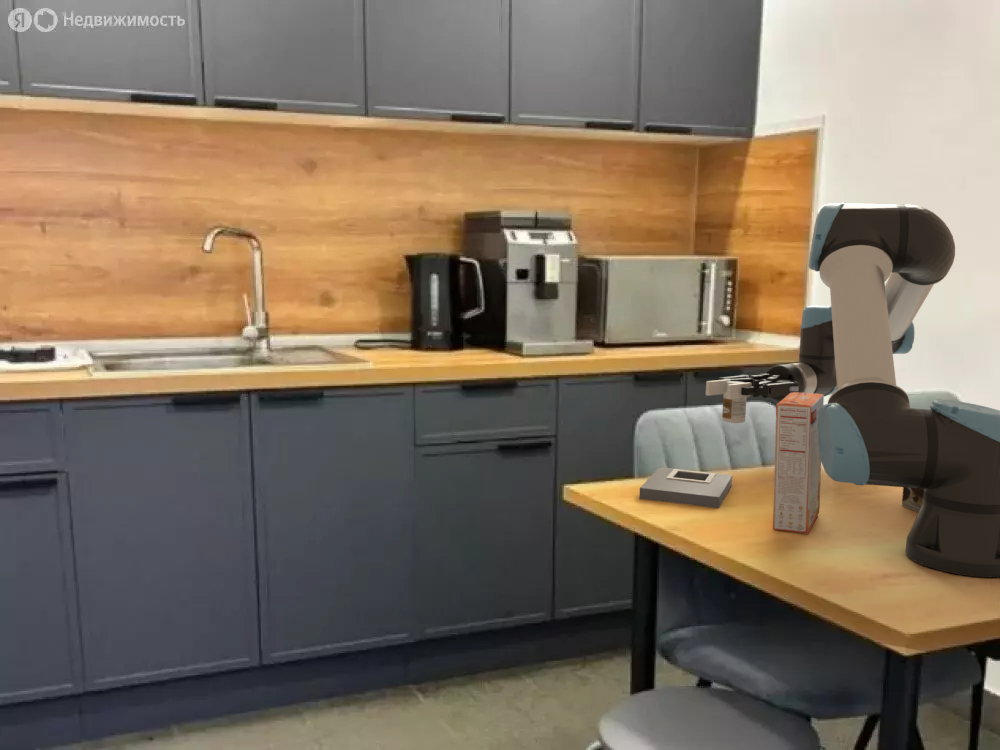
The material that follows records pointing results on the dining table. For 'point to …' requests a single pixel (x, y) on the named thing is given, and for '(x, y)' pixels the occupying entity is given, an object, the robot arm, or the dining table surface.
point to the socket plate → (686, 487)
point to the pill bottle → (734, 408)
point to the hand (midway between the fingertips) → (718, 390)
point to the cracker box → (797, 463)
